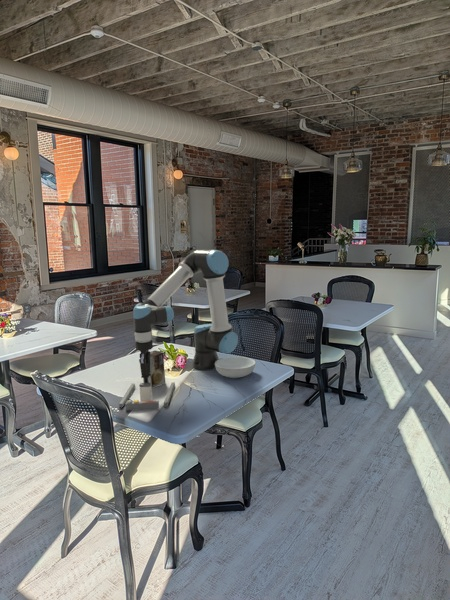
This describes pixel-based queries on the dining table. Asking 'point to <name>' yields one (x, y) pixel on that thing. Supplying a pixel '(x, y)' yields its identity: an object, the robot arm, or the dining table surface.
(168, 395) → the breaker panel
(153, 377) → the coffee box
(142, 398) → the switch lever
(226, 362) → the serving bowl
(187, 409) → the dining table surface
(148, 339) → the robot arm
